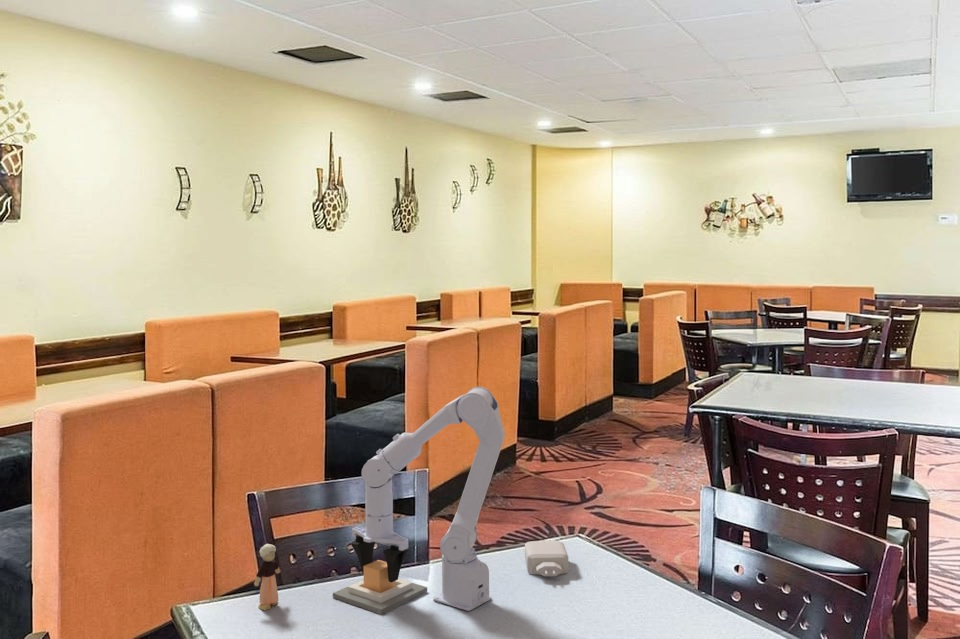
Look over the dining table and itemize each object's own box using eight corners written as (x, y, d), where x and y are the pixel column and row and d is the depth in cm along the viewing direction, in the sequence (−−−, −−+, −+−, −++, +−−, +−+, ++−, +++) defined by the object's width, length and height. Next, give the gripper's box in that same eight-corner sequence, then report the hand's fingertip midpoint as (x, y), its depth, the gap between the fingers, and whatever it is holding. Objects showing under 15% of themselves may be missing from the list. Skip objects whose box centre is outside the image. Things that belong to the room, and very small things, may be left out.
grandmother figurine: (269, 613, 160) (268, 550, 159) (251, 611, 161) (250, 549, 160) (286, 597, 168) (285, 538, 167) (269, 596, 168) (268, 537, 168)
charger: (529, 585, 174) (524, 560, 189) (571, 585, 174) (563, 560, 189) (529, 564, 174) (524, 541, 189) (571, 563, 174) (563, 540, 189)
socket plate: (427, 591, 170) (427, 581, 170) (381, 614, 159) (381, 603, 159) (379, 577, 179) (379, 567, 178) (332, 597, 167) (332, 587, 167)
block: (394, 589, 169) (393, 564, 169) (379, 596, 165) (379, 570, 165) (378, 584, 172) (378, 559, 171) (363, 591, 168) (363, 566, 168)
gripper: (341, 511, 169) (342, 574, 170) (391, 524, 160) (392, 590, 161) (364, 504, 175) (365, 565, 175) (414, 515, 166) (415, 579, 167)
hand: (380, 576), depth 169 cm, fingers open, 7 cm apart
